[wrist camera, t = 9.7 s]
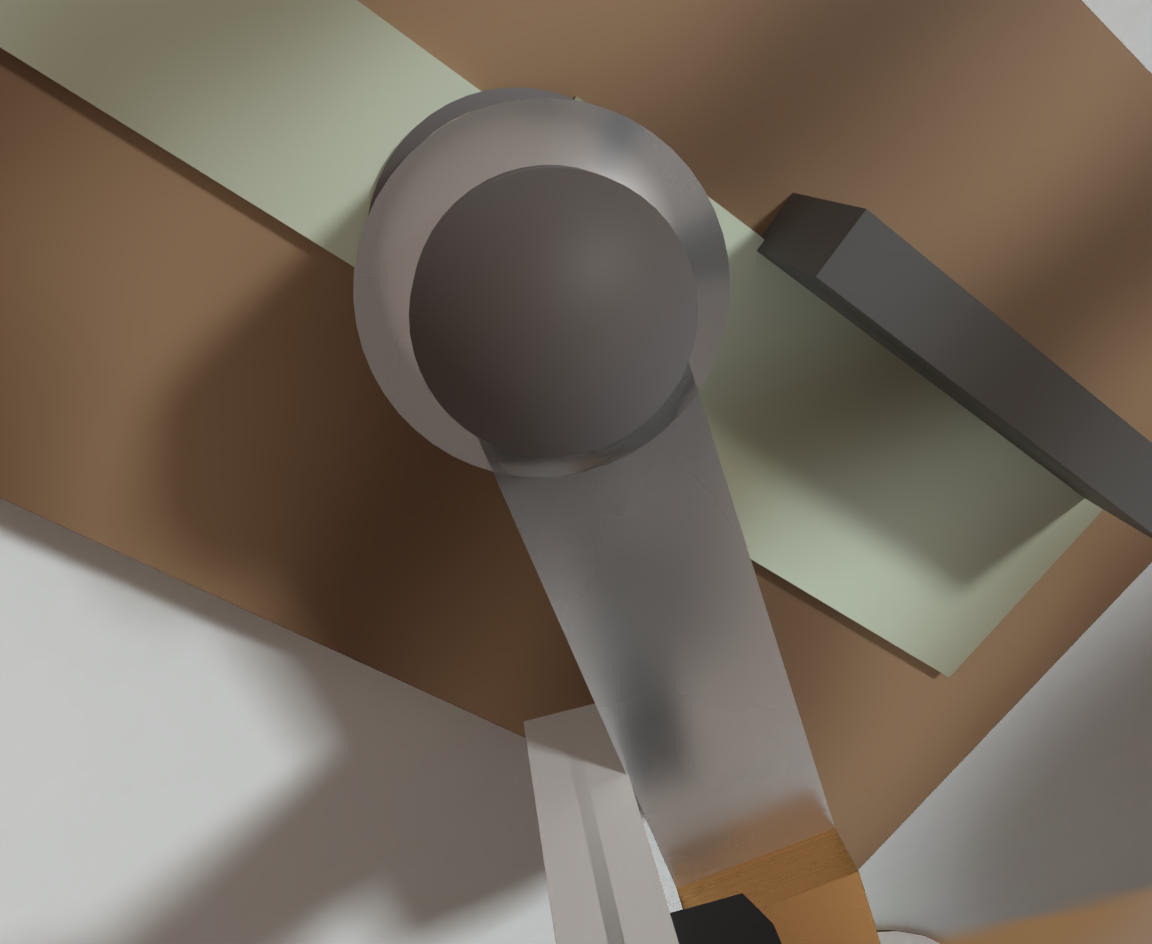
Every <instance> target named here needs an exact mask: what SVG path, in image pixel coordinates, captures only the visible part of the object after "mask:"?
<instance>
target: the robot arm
mask: <svg viewBox="0 0 1152 944" xmlns="http://www.w3.org/2000/svg"><path fill="white" fill-rule="evenodd" d="M524 728H525V735H526V742H527V749H528V756H529V763H530V770H531V776H532V783H533V790H534V797H535V804H536V811H537V817H538V824H539V831H540V838H541V845H542V852H543V859H544V865H545V872H546V879H547V886H548V893H549V900H550V906H551V913H552V920H553V927H554V934H555V941H556V944H782V943H781V941H780V938H779V936H778V934H777V931H776V929H775V927H774V924H773V923H772V922H771V921H770V920H769V919H768V918H767V917H766V916H765V915H764V914H763V913H762V912H761V911H760V910H759V909H758V908H757V907H756V906H755V905H754V904H753V903H752V902H751V901H750V900H749V899H748V898H747V897H746V896H745V895H744V894H743V893H741V894H737V895H734V896H730V897H727V898H723V899H719V900H716V901H712V902H709V903H705V904H701V905H698V906H694V907H691V908H687V909H683V910H680V911H676V912H672V913H670V912H669V909H668V905H667V902H666V899H665V895H664V892H663V889H662V885H661V882H660V878H659V875H658V872H657V868H656V865H655V862H654V858H653V855H652V852H651V848H650V845H649V842H648V838H647V835H646V832H645V828H644V825H643V822H642V818H641V815H640V812H639V808H638V805H637V802H636V798H635V795H634V791H633V788H632V785H631V781H630V778H629V775H628V774H626V772H625V770H624V768H623V765H622V763H621V761H620V759H619V756H618V754H617V752H616V750H615V747H614V745H613V743H612V741H611V738H610V736H609V734H608V732H607V729H606V727H605V725H604V722H603V720H602V718H601V716H600V713H599V711H598V709H597V707H596V704H591V705H587V706H583V707H579V708H575V709H570V710H567V711H563V712H559V713H555V714H551V715H547V716H543V717H539V718H535V719H532V720H528V721H524Z"/></svg>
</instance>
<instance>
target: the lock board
mask: <svg viewBox="0 0 1152 944" xmlns="http://www.w3.org/2000/svg"><path fill="white" fill-rule="evenodd" d="M526 98H560V99H568V100H575V101H582V102H585V103H589V104H593V105H596V106H600V107H604V108H607V109H609V110H611V111H614V112H616V113H618V114H620V115H623V116H625V117H627V118H630V119H631V120H633V121H635V122H636V123H638V124H639V125H641V126H643V127H644V128H646V129H648V130H649V131H651V132H652V133H654V134H655V135H656V136H657V137H658V138H660V139H661V140H662V141H663V142H664V143H666V144H667V145H668V146H669V147H670V148H672V149H673V150H674V151H675V153H676V154H677V155H678V156H679V157H680V158H681V159H682V160H683V161H684V162H685V164H686V165H687V166H688V167H689V168H690V169H691V171H692V172H693V174H694V175H695V177H696V178H697V180H698V181H699V182H700V184H701V185H702V187H703V188H704V190H705V192H706V194H707V196H708V198H709V200H710V202H711V204H712V206H713V208H714V210H715V212H716V215H717V218H718V221H719V224H720V227H721V229H722V232H723V236H724V240H725V245H726V250H727V255H728V261H729V274H730V296H729V309H728V315H727V321H726V326H725V331H724V335H723V338H722V341H721V344H720V348H719V351H718V354H717V356H716V358H715V360H714V363H713V365H712V367H711V369H710V372H709V374H708V376H707V377H706V379H705V381H704V382H703V384H702V386H701V387H700V389H699V391H698V393H699V396H700V399H701V402H702V405H703V409H704V412H705V415H706V418H707V421H708V425H709V428H710V431H711V434H712V437H713V440H714V444H715V447H716V450H717V453H718V456H719V460H720V463H721V466H722V469H723V472H724V476H725V479H726V482H727V485H728V488H729V492H730V495H731V498H732V501H733V504H734V507H735V511H736V514H737V517H738V520H739V523H740V527H741V530H742V533H743V536H744V539H745V543H746V546H747V549H748V552H749V555H750V559H751V562H752V565H753V568H754V571H755V574H756V578H757V581H758V584H759V587H760V590H761V594H762V597H763V600H764V603H765V606H766V610H767V613H768V616H769V619H770V622H771V626H772V629H773V632H774V635H775V638H776V641H777V645H778V648H779V651H780V654H781V657H782V661H783V664H784V667H785V670H786V673H787V677H788V680H789V683H790V686H791V689H792V693H793V696H794V699H795V702H796V705H797V708H798V712H799V715H800V718H801V721H802V724H803V728H804V731H805V734H806V737H807V740H808V744H809V747H810V750H811V753H812V756H813V759H814V763H815V766H816V769H817V772H818V775H819V779H820V782H821V785H822V788H823V791H824V795H825V798H826V801H827V804H828V807H829V811H830V814H831V817H832V820H833V823H834V826H835V829H836V831H837V833H838V834H839V836H840V838H841V840H842V842H843V844H844V846H845V847H846V849H847V851H848V853H849V855H850V857H851V858H852V860H853V862H854V864H855V866H856V868H857V870H858V869H859V868H860V867H861V866H862V865H863V864H864V863H865V862H866V861H867V860H868V859H869V858H870V857H871V856H872V855H873V854H874V853H875V852H876V851H877V849H878V848H879V847H880V846H881V845H882V844H883V843H884V842H885V841H886V840H887V839H888V838H889V837H890V836H891V835H892V834H893V833H894V832H895V831H896V830H897V829H898V827H899V826H900V825H901V824H902V823H903V822H904V821H905V820H906V819H907V818H908V817H909V816H910V815H911V814H912V813H913V812H914V811H915V810H916V809H917V808H918V806H919V805H920V804H921V803H922V802H923V801H924V800H925V799H926V798H927V797H928V796H929V795H930V794H931V793H932V792H933V791H934V790H935V789H936V788H937V787H938V786H939V784H940V783H941V782H942V781H943V780H944V779H945V778H946V777H947V776H948V775H949V774H950V773H951V772H952V771H953V770H954V769H955V768H956V767H957V766H958V765H959V763H960V762H961V761H962V760H963V759H964V758H965V757H966V756H967V755H968V754H969V753H970V752H971V751H972V750H973V749H974V748H975V747H976V746H977V745H978V744H979V742H980V741H981V740H982V739H983V738H984V737H985V736H986V735H987V734H988V733H989V732H990V731H991V730H992V729H993V728H994V727H995V726H996V725H997V724H998V723H999V722H1000V720H1001V719H1002V718H1003V717H1004V716H1005V715H1006V714H1007V713H1008V712H1009V711H1010V710H1011V709H1012V708H1013V707H1014V706H1015V705H1016V704H1017V703H1018V702H1019V701H1020V699H1021V698H1022V697H1023V696H1024V695H1025V694H1026V693H1027V692H1028V691H1029V690H1030V689H1031V688H1032V687H1033V686H1034V685H1035V684H1036V683H1037V682H1038V681H1039V680H1040V679H1041V677H1042V676H1043V675H1044V674H1045V673H1046V672H1047V671H1048V670H1049V669H1050V668H1051V667H1052V666H1053V665H1054V664H1055V663H1056V662H1057V661H1058V660H1059V659H1060V658H1061V656H1062V655H1063V654H1064V653H1065V652H1066V651H1067V650H1068V649H1069V648H1070V647H1071V646H1072V645H1073V644H1074V643H1075V642H1076V641H1077V640H1078V639H1079V638H1080V637H1081V635H1082V634H1083V633H1084V632H1085V631H1086V630H1087V629H1088V628H1089V627H1090V626H1091V625H1092V624H1093V623H1094V622H1095V621H1096V620H1097V619H1098V618H1099V617H1100V616H1101V615H1102V613H1103V612H1104V611H1105V610H1106V609H1107V608H1108V607H1109V606H1110V605H1111V604H1112V603H1113V602H1114V601H1115V600H1116V599H1117V598H1118V597H1119V596H1120V595H1121V594H1122V592H1123V591H1124V590H1125V589H1126V588H1127V587H1128V586H1129V585H1130V584H1131V583H1132V582H1133V581H1134V580H1135V579H1136V578H1137V577H1138V576H1139V575H1140V574H1141V573H1142V572H1143V570H1144V569H1145V568H1146V567H1147V566H1148V565H1149V564H1150V563H1151V562H1152V74H1151V73H1150V72H1149V71H1148V70H1147V69H1146V68H1145V67H1144V66H1143V64H1142V63H1141V62H1140V61H1139V60H1138V59H1137V58H1136V57H1135V56H1134V55H1133V54H1132V53H1131V52H1130V51H1129V50H1128V49H1127V48H1126V47H1125V46H1124V44H1123V43H1122V42H1121V41H1120V40H1119V39H1118V38H1117V37H1116V36H1115V35H1114V34H1113V33H1112V32H1111V31H1110V30H1109V29H1108V28H1107V27H1106V26H1105V25H1104V23H1103V22H1102V21H1101V20H1100V19H1099V18H1098V17H1097V16H1096V15H1095V14H1094V13H1093V12H1092V11H1091V10H1090V9H1089V8H1088V7H1087V6H1086V5H1085V3H1084V2H1083V1H1082V0H0V498H2V499H4V500H6V501H8V502H10V503H13V504H15V505H17V506H19V507H21V508H24V509H26V510H28V511H30V512H32V513H35V514H37V515H39V516H41V517H43V518H46V519H48V520H50V521H52V522H54V523H56V524H59V525H61V526H63V527H65V528H67V529H70V530H72V531H74V532H76V533H78V534H81V535H83V536H85V537H87V538H89V539H91V540H94V541H96V542H98V543H100V544H102V545H105V546H107V547H109V548H111V549H113V550H116V551H118V552H120V553H122V554H124V555H127V556H129V557H131V558H133V559H135V560H137V561H140V562H142V563H144V564H146V565H148V566H151V567H153V568H155V569H157V570H159V571H162V572H164V573H166V574H168V575H170V576H173V577H175V578H177V579H179V580H181V581H183V582H186V583H188V584H190V585H192V586H194V587H197V588H199V589H201V590H203V591H205V592H208V593H210V594H212V595H214V596H216V597H219V598H221V599H223V600H225V601H227V602H229V603H232V604H234V605H236V606H238V607H240V608H243V609H245V610H247V611H249V612H251V613H254V614H256V615H258V616H260V617H262V618H264V619H267V620H269V621H271V622H273V623H275V624H278V625H280V626H282V627H284V628H286V629H289V630H291V631H293V632H295V633H297V634H300V635H302V636H304V637H306V638H308V639H310V640H313V641H315V642H317V643H319V644H321V645H324V646H326V647H328V648H330V649H332V650H335V651H337V652H339V653H341V654H343V655H346V656H348V657H350V658H352V659H354V660H356V661H359V662H361V663H363V664H365V665H367V666H370V667H372V668H374V669H376V670H378V671H381V672H383V673H385V674H387V675H389V676H392V677H394V678H396V679H398V680H400V681H402V682H405V683H407V684H409V685H411V686H413V687H416V688H418V689H420V690H422V691H424V692H427V693H429V694H431V695H433V696H435V697H437V698H440V699H442V700H444V701H446V702H448V703H451V704H453V705H455V706H457V707H459V708H462V709H464V710H466V711H468V712H470V713H473V714H475V715H477V716H479V717H481V718H483V719H486V720H488V721H490V722H492V723H494V724H497V725H499V726H501V727H503V728H505V729H508V730H510V731H512V732H514V733H516V734H519V735H521V736H523V737H525V738H526V735H525V728H524V721H528V720H532V719H535V718H539V717H543V716H547V715H551V714H555V713H559V712H563V711H567V710H570V709H575V708H579V707H583V706H587V705H591V704H595V702H594V700H593V698H592V695H591V693H590V691H589V688H588V686H587V684H586V682H585V679H584V677H583V675H582V673H581V670H580V668H579V666H578V664H577V661H576V659H575V657H574V655H573V652H572V650H571V648H570V645H569V643H568V641H567V639H566V636H565V634H564V632H563V630H562V627H561V625H560V623H559V621H558V618H557V616H556V614H555V612H554V609H553V607H552V605H551V602H550V600H549V598H548V596H547V593H546V591H545V589H544V587H543V584H542V582H541V580H540V578H539V575H538V573H537V571H536V569H535V566H534V564H533V562H532V559H531V557H530V555H529V553H528V550H527V548H526V546H525V544H524V541H523V539H522V537H521V535H520V532H519V530H518V528H517V526H516V523H515V521H514V519H513V516H512V514H511V512H510V510H509V507H508V505H507V503H506V501H505V498H504V496H503V494H502V492H501V489H500V487H499V485H498V482H497V480H496V478H495V476H494V473H493V471H490V470H487V469H483V468H480V467H477V466H474V465H472V464H469V463H467V462H465V461H463V460H460V459H458V458H456V457H454V456H452V455H450V454H449V453H447V452H445V451H444V450H442V449H440V448H439V447H437V446H435V445H434V444H432V443H431V442H430V441H429V440H427V439H426V438H425V437H424V436H422V435H421V434H420V433H418V432H417V431H416V430H415V429H414V428H413V427H412V426H411V425H410V424H409V423H408V422H407V421H406V420H405V419H404V418H403V417H402V416H401V415H400V414H399V413H398V412H397V410H396V409H395V408H394V406H393V405H392V404H391V402H390V401H389V400H388V398H387V397H386V396H385V394H384V393H383V391H382V389H381V387H380V386H379V384H378V382H377V380H376V379H375V377H374V375H373V373H372V371H371V369H370V366H369V364H368V361H367V359H366V356H365V354H364V352H363V349H362V345H361V341H360V337H359V333H358V330H357V326H356V318H355V310H354V301H353V286H354V269H355V262H356V255H357V249H358V245H359V242H360V238H361V235H362V231H363V228H364V225H365V222H366V220H367V217H368V215H369V213H370V211H371V209H372V206H373V204H374V202H375V200H376V198H377V196H378V195H379V193H380V191H381V190H382V188H383V187H384V185H385V183H386V182H387V180H388V179H389V177H390V176H391V175H392V173H393V172H394V171H395V170H396V169H397V167H398V166H399V165H400V164H401V163H402V161H403V160H404V159H405V158H406V157H407V156H408V155H409V154H410V153H411V152H412V151H413V150H414V149H415V148H416V147H418V146H419V145H420V144H421V143H422V142H423V141H424V140H425V139H426V138H428V137H429V136H430V135H431V134H432V133H433V132H435V131H436V130H437V129H439V128H440V127H442V126H443V125H445V124H446V123H448V122H449V121H451V120H453V119H455V118H457V117H460V116H462V115H464V114H466V113H468V112H471V111H474V110H478V109H481V108H484V107H487V106H490V105H494V104H497V103H501V102H507V101H513V100H519V99H526ZM697 322H698V297H697V289H696V283H695V278H694V273H693V270H692V267H691V264H690V261H689V258H688V255H687V253H686V251H685V249H684V247H683V245H682V243H681V241H680V239H679V237H678V236H677V235H676V233H675V232H674V230H673V229H672V227H671V226H670V224H669V223H668V222H667V220H666V219H665V218H664V217H663V216H662V215H661V214H660V213H659V211H658V210H657V209H656V208H655V207H654V206H652V205H651V204H650V203H649V202H648V201H647V200H645V199H644V198H643V197H642V196H641V195H639V194H637V193H636V192H634V191H633V190H631V189H630V188H628V187H626V186H625V185H623V184H620V183H618V182H616V181H614V180H612V179H610V178H607V177H605V176H602V175H600V174H597V173H594V172H590V171H587V170H584V169H580V168H576V167H569V166H562V165H537V166H530V167H522V168H518V169H515V170H511V171H508V172H504V173H502V174H499V175H497V176H495V177H492V178H490V179H488V180H486V181H484V182H483V183H481V184H479V185H478V186H476V187H474V188H473V189H471V190H470V191H468V192H467V193H466V194H465V195H463V196H462V197H461V198H460V199H459V200H457V201H456V202H455V203H454V204H453V205H452V206H451V207H450V208H449V209H448V211H447V212H446V213H445V214H444V215H443V216H442V217H441V219H440V220H439V222H438V223H437V224H436V226H435V227H434V229H433V230H432V232H431V233H430V235H429V237H428V239H427V241H426V243H425V245H424V247H423V249H422V252H421V255H420V258H419V261H418V263H417V266H416V271H415V275H414V280H413V285H412V289H411V294H410V305H409V326H410V337H411V342H412V347H413V352H414V355H415V358H416V361H417V364H418V367H419V370H420V372H421V374H422V376H423V378H424V380H425V382H426V384H427V386H428V388H429V389H430V391H431V392H432V394H433V395H434V397H435V398H436V400H437V401H438V403H439V404H440V405H441V406H442V407H443V408H444V410H445V411H446V412H447V413H448V414H449V415H450V416H451V417H452V418H453V419H454V420H455V421H456V422H457V423H459V424H460V425H461V426H462V427H463V428H464V429H466V430H467V431H469V432H470V433H472V434H473V435H475V436H476V437H478V438H480V439H482V440H484V441H486V442H488V443H490V444H492V445H494V446H496V447H499V448H502V449H504V450H507V451H510V452H514V453H518V454H523V455H528V456H537V457H566V456H573V455H579V454H584V453H587V452H591V451H594V450H598V449H601V448H603V447H605V446H608V445H610V444H612V443H615V442H617V441H619V440H620V439H622V438H624V437H626V436H627V435H629V434H631V433H632V432H634V431H635V430H636V429H638V428H639V427H640V426H642V425H643V424H644V423H646V422H647V421H648V420H649V419H650V418H651V417H652V416H653V415H654V414H655V413H656V412H657V411H658V410H659V409H660V408H661V407H662V405H663V404H664V403H665V402H666V401H667V399H668V398H669V397H670V396H671V394H672V392H673V391H674V389H675V388H676V386H677V385H678V383H679V381H680V380H681V377H682V375H683V373H684V371H685V369H686V367H687V365H688V362H689V359H690V356H691V353H692V350H693V347H694V342H695V337H696V332H697Z"/></svg>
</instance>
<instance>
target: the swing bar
mask: <svg viewBox="0 0 1152 944" xmlns="http://www.w3.org/2000/svg"><path fill="white" fill-rule="evenodd" d="M537 165H562V166H569V167H576V168H580V169H584V170H587V171H590V172H594V173H597V174H600V175H602V176H605V177H607V178H610V179H612V180H614V181H616V182H618V183H620V184H623V185H625V186H626V187H628V188H630V189H631V190H633V191H634V192H636V193H637V194H639V195H641V196H642V197H643V198H644V199H645V200H647V201H648V202H649V203H650V204H651V205H652V206H654V207H655V208H656V209H657V210H658V211H659V213H660V214H661V215H662V216H663V217H664V218H665V219H666V220H667V222H668V223H669V224H670V226H671V227H672V229H673V230H674V232H675V233H676V235H677V236H678V237H679V239H680V241H681V243H682V245H683V247H684V249H685V251H686V253H687V255H688V258H689V261H690V264H691V267H692V270H693V273H694V278H695V283H696V289H697V297H698V322H697V332H696V337H695V342H694V347H693V350H692V353H691V356H690V359H689V362H688V365H687V367H686V369H685V371H684V373H683V375H682V377H681V380H680V381H679V383H678V385H677V386H676V388H675V389H674V391H673V392H672V394H671V396H670V397H669V398H668V399H667V401H666V402H665V403H664V404H663V405H662V407H661V408H660V409H659V410H658V411H657V412H656V413H655V414H654V415H653V416H652V417H651V418H650V419H649V420H648V421H647V422H646V423H644V424H643V425H642V426H640V427H639V428H638V429H636V430H635V431H634V432H632V433H631V434H629V435H627V436H626V437H624V438H622V439H620V440H619V441H617V442H615V443H612V444H610V445H608V446H605V447H603V448H601V449H598V450H594V451H591V452H587V453H584V454H579V455H573V456H566V457H537V456H528V455H523V454H518V453H514V452H510V451H507V450H504V449H502V448H499V447H496V446H494V445H492V444H490V443H488V442H486V441H484V440H482V439H480V438H478V437H476V436H475V435H473V434H472V433H470V432H469V431H467V430H466V429H464V428H463V427H462V426H461V425H460V424H459V423H457V422H456V421H455V420H454V419H453V418H452V417H451V416H450V415H449V414H448V413H447V412H446V411H445V410H444V408H443V407H442V406H441V405H440V404H439V403H438V401H437V400H436V398H435V397H434V395H433V394H432V392H431V391H430V389H429V388H428V386H427V384H426V382H425V380H424V378H423V376H422V374H421V372H420V370H419V367H418V364H417V361H416V358H415V355H414V352H413V347H412V342H411V337H410V326H409V305H410V294H411V289H412V285H413V280H414V275H415V271H416V266H417V263H418V261H419V258H420V255H421V252H422V249H423V247H424V245H425V243H426V241H427V239H428V237H429V235H430V233H431V232H432V230H433V229H434V227H435V226H436V224H437V223H438V222H439V220H440V219H441V217H442V216H443V215H444V214H445V213H446V212H447V211H448V209H449V208H450V207H451V206H452V205H453V204H454V203H455V202H456V201H457V200H459V199H460V198H461V197H462V196H463V195H465V194H466V193H467V192H468V191H470V190H471V189H473V188H474V187H476V186H478V185H479V184H481V183H483V182H484V181H486V180H488V179H490V178H492V177H495V176H497V175H499V174H502V173H504V172H508V171H511V170H515V169H518V168H522V167H530V166H537ZM729 296H730V274H729V261H728V255H727V250H726V245H725V240H724V236H723V232H722V229H721V227H720V224H719V221H718V218H717V215H716V212H715V210H714V208H713V206H712V204H711V202H710V200H709V198H708V196H707V194H706V192H705V190H704V188H703V187H702V185H701V184H700V182H699V181H698V180H697V178H696V177H695V175H694V174H693V172H692V171H691V169H690V168H689V167H688V166H687V165H686V164H685V162H684V161H683V160H682V159H681V158H680V157H679V156H678V155H677V154H676V153H675V151H674V150H673V149H672V148H670V147H669V146H668V145H667V144H666V143H664V142H663V141H662V140H661V139H660V138H658V137H657V136H656V135H655V134H654V133H652V132H651V131H649V130H648V129H646V128H644V127H643V126H641V125H639V124H638V123H636V122H635V121H633V120H631V119H630V118H627V117H625V116H623V115H620V114H618V113H616V112H614V111H611V110H609V109H607V108H604V107H600V106H596V105H593V104H589V103H585V102H582V101H575V100H568V99H560V98H526V99H519V100H513V101H507V102H501V103H497V104H494V105H490V106H487V107H484V108H481V109H478V110H474V111H471V112H468V113H466V114H464V115H462V116H460V117H457V118H455V119H453V120H451V121H449V122H448V123H446V124H445V125H443V126H442V127H440V128H439V129H437V130H436V131H435V132H433V133H432V134H431V135H430V136H429V137H428V138H426V139H425V140H424V141H423V142H422V143H421V144H420V145H419V146H418V147H416V148H415V149H414V150H413V151H412V152H411V153H410V154H409V155H408V156H407V157H406V158H405V159H404V160H403V161H402V163H401V164H400V165H399V166H398V167H397V169H396V170H395V171H394V172H393V173H392V175H391V176H390V177H389V179H388V180H387V182H386V183H385V185H384V187H383V188H382V190H381V191H380V193H379V195H378V196H377V198H376V200H375V202H374V204H373V206H372V209H371V211H370V213H369V215H368V217H367V220H366V222H365V225H364V228H363V231H362V235H361V238H360V242H359V245H358V249H357V255H356V262H355V269H354V286H353V301H354V310H355V318H356V326H357V330H358V333H359V337H360V341H361V345H362V349H363V352H364V354H365V356H366V359H367V361H368V364H369V366H370V369H371V371H372V373H373V375H374V377H375V379H376V380H377V382H378V384H379V386H380V387H381V389H382V391H383V393H384V394H385V396H386V397H387V398H388V400H389V401H390V402H391V404H392V405H393V406H394V408H395V409H396V410H397V412H398V413H399V414H400V415H401V416H402V417H403V418H404V419H405V420H406V421H407V422H408V423H409V424H410V425H411V426H412V427H413V428H414V429H415V430H416V431H417V432H418V433H420V434H421V435H422V436H424V437H425V438H426V439H427V440H429V441H430V442H431V443H432V444H434V445H435V446H437V447H439V448H440V449H442V450H444V451H445V452H447V453H449V454H450V455H452V456H454V457H456V458H458V459H460V460H463V461H465V462H467V463H469V464H472V465H474V466H477V467H480V468H483V469H487V470H490V471H493V473H494V476H495V478H496V480H497V482H498V485H499V487H500V489H501V492H502V494H503V496H504V498H505V501H506V503H507V505H508V507H509V510H510V512H511V514H512V516H513V519H514V521H515V523H516V526H517V528H518V530H519V532H520V535H521V537H522V539H523V541H524V544H525V546H526V548H527V550H528V553H529V555H530V557H531V559H532V562H533V564H534V566H535V569H536V571H537V573H538V575H539V578H540V580H541V582H542V584H543V587H544V589H545V591H546V593H547V596H548V598H549V600H550V602H551V605H552V607H553V609H554V612H555V614H556V616H557V618H558V621H559V623H560V625H561V627H562V630H563V632H564V634H565V636H566V639H567V641H568V643H569V645H570V648H571V650H572V652H573V655H574V657H575V659H576V661H577V664H578V666H579V668H580V670H581V673H582V675H583V677H584V679H585V682H586V684H587V686H588V688H589V691H590V693H591V695H592V698H593V700H594V702H595V704H596V707H597V709H598V711H599V713H600V716H601V718H602V720H603V722H604V725H605V727H606V729H607V732H608V734H609V736H610V738H611V741H612V743H613V745H614V747H615V750H616V752H617V754H618V756H619V759H620V761H621V763H622V765H623V768H624V770H625V772H626V774H628V775H629V778H630V781H631V785H632V788H633V790H634V793H635V795H636V797H637V799H638V802H639V804H640V806H641V808H642V811H643V813H644V815H645V818H646V820H647V822H648V824H649V827H650V829H651V831H652V833H653V836H654V838H655V840H656V842H657V845H658V847H659V849H660V851H661V854H662V856H663V858H664V861H665V863H666V865H667V867H668V870H669V872H670V874H671V876H672V879H673V881H674V883H675V885H676V888H677V891H678V894H679V898H680V901H681V905H682V908H683V909H687V908H691V907H694V906H698V905H701V904H705V903H709V902H712V901H716V900H719V899H723V898H727V897H730V896H734V895H737V894H741V893H743V894H744V895H745V896H746V897H747V898H748V899H749V900H750V901H751V902H752V903H753V904H754V905H755V906H756V907H757V908H758V909H759V910H760V911H761V912H762V913H763V914H764V915H765V916H766V917H767V918H768V919H769V920H770V921H771V922H772V923H773V924H774V927H775V929H776V931H777V934H778V936H779V938H780V941H781V943H782V944H881V943H880V940H879V936H878V933H877V930H876V927H875V923H874V920H873V917H872V914H871V910H870V907H869V904H868V901H867V897H866V894H865V891H864V887H863V884H862V881H861V878H860V874H859V871H858V870H857V868H856V866H855V864H854V862H853V860H852V858H851V857H850V855H849V853H848V851H847V849H846V847H845V846H844V844H843V842H842V840H841V838H840V836H839V834H838V833H837V831H836V829H835V826H834V823H833V820H832V817H831V814H830V811H829V807H828V804H827V801H826V798H825V795H824V791H823V788H822V785H821V782H820V779H819V775H818V772H817V769H816V766H815V763H814V759H813V756H812V753H811V750H810V747H809V744H808V740H807V737H806V734H805V731H804V728H803V724H802V721H801V718H800V715H799V712H798V708H797V705H796V702H795V699H794V696H793V693H792V689H791V686H790V683H789V680H788V677H787V673H786V670H785V667H784V664H783V661H782V657H781V654H780V651H779V648H778V645H777V641H776V638H775V635H774V632H773V629H772V626H771V622H770V619H769V616H768V613H767V610H766V606H765V603H764V600H763V597H762V594H761V590H760V587H759V584H758V581H757V578H756V574H755V571H754V568H753V565H752V562H751V559H750V555H749V552H748V549H747V546H746V543H745V539H744V536H743V533H742V530H741V527H740V523H739V520H738V517H737V514H736V511H735V507H734V504H733V501H732V498H731V495H730V492H729V488H728V485H727V482H726V479H725V476H724V472H723V469H722V466H721V463H720V460H719V456H718V453H717V450H716V447H715V444H714V440H713V437H712V434H711V431H710V428H709V425H708V421H707V418H706V415H705V412H704V409H703V405H702V402H701V399H700V396H699V393H698V391H699V389H700V387H701V386H702V384H703V382H704V381H705V379H706V377H707V376H708V374H709V372H710V369H711V367H712V365H713V363H714V360H715V358H716V356H717V354H718V351H719V348H720V344H721V341H722V338H723V335H724V331H725V326H726V321H727V315H728V309H729Z"/></svg>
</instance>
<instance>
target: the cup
mask: <svg viewBox="0 0 1152 944" xmlns="http://www.w3.org/2000/svg"><path fill="white" fill-rule="evenodd" d="M877 933H878V936H879V940H880V943H881V944H940V943H938V942H936V941H934V940H932V939H930V938H928V937H926V936H922V935H917V934H911V933H906V932H900V931H886V932H877Z"/></svg>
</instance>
